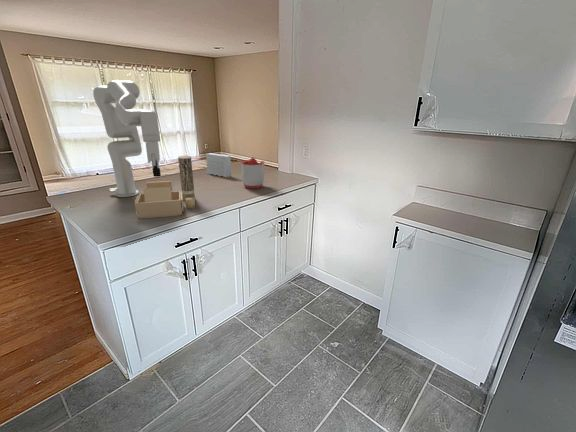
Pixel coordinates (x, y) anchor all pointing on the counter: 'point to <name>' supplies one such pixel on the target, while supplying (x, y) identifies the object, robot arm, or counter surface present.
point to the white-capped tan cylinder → (190, 203)
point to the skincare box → (218, 164)
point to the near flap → (157, 194)
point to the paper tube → (186, 177)
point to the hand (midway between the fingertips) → (157, 176)
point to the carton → (159, 206)
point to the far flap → (159, 184)
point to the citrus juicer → (252, 173)
